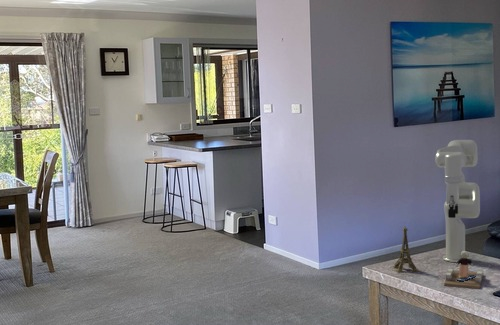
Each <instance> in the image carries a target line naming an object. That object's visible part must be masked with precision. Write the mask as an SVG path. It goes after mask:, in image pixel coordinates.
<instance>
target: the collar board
mask: <svg viewBox="0 0 500 325" xmlns="http://www.w3.org/2000/svg"><path fill="white" fill-rule="evenodd" d="M469 275H474V276H476V277H475V278H473V279H470V280H468V281H464V282H459V281H457V280H456V279H459V276H460V270H454V268H451V267H449V268H448V269H447V271H446V273H445V281H444V283H443V284H444V285H443V286H444V287H452V288H455V287H456V288H462V289H463V288H465V289H466V288H467V289H477V290H480V288H481V284H482V280H483V277H484V272H483V270H479V269H478V270H477V271H468V276H469Z"/></svg>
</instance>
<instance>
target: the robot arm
mask: <svg viewBox="0 0 500 325" xmlns="http://www.w3.org/2000/svg"><path fill="white" fill-rule="evenodd" d="M478 158H479V155H478V145H477V142H475V140H473V139H455V140H451V141H449V143H448V144H447V146H445V147H442V148H439V149H437V151H436V154H435V159H434V162H435V164H436V166H437V167H438V168H444V183H445V185H446V190H445V191H446V194H445V195H446V196H445V202H444V204H443V212H444V216H445V218H444V220H445V254H444V255H443V256H442V260H444V261H446V262H450V263H457V262H458V261H459V260H460V259H461V258H462V256H461V252H462V251H466V225H465V224H464V222H463V220H462V219H476V218H478V217H479V216H480V213H481V192H480V191H481V190H480V186H479V185H478V183H476V182H468V181H467V182H466V181H465V178H466V177H465V174H464V173H463V172H462V168H467V167H468V168H473V167H476V166H477V165H478V161H479V160H478ZM467 259H469V257H468V256H467Z"/></svg>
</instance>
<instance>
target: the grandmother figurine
mask: <svg viewBox="0 0 500 325" xmlns="http://www.w3.org/2000/svg"><path fill="white" fill-rule="evenodd" d="M461 256H462V258H461V259H460V260H459V261H458V262H456V264H455V267H457V268H458V267H459V271H460V276H459V278H463V277H464V278H469V277H468V272H469V265H470V266H471V267H474V264H473V261H472V260H471V259H470V258H468V259H467V257H468V256H469V253H468V251H466V250H465V251H462V252H461Z"/></svg>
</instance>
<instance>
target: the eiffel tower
mask: <svg viewBox="0 0 500 325" xmlns="http://www.w3.org/2000/svg"><path fill="white" fill-rule="evenodd" d="M402 231H403V233H402V234H403V235H402V243H401V244H402V245H401V248H400V249H399V250H400V254H399V256H398V259H397V260H396V262H395V263H394V265H392V266H391V267H392V269H397V270H396V273H404V271H403V268H404V265H405V264H408V265H407V267H408V268H411V271H412V272H414V273H420V271H419V270H418V269H417V267H416V265H415V264H414V262H413V258H412V257H411V253H410V252H411V250H410V249H409V242H408V241H409V240H408V233H407V231H408V228H407V227H402ZM405 255H406V256H405Z"/></svg>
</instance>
